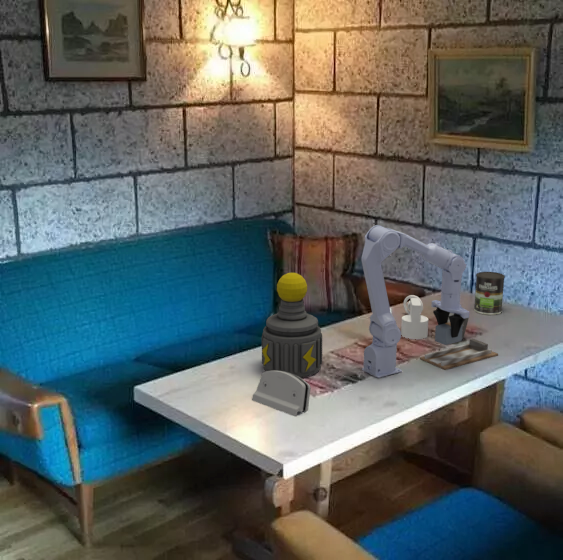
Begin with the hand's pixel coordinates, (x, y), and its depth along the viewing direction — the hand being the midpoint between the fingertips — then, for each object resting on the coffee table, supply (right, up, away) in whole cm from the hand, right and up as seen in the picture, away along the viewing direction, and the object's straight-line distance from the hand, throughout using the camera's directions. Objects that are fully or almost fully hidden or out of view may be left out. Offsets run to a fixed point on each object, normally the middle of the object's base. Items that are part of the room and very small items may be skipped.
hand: (448, 334), depth 242 cm
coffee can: (+26, +5, +54) cm, 60 cm away
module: (0, -2, 0) cm, 2 cm away
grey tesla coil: (-48, -10, -2) cm, 50 cm away
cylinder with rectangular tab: (-6, -2, +27) cm, 28 cm away
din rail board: (+5, -8, +6) cm, 11 cm away
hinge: (-51, -17, -28) cm, 61 cm away
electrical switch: (+7, -3, +26) cm, 27 cm away
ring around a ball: (-2, +4, +49) cm, 49 cm away
